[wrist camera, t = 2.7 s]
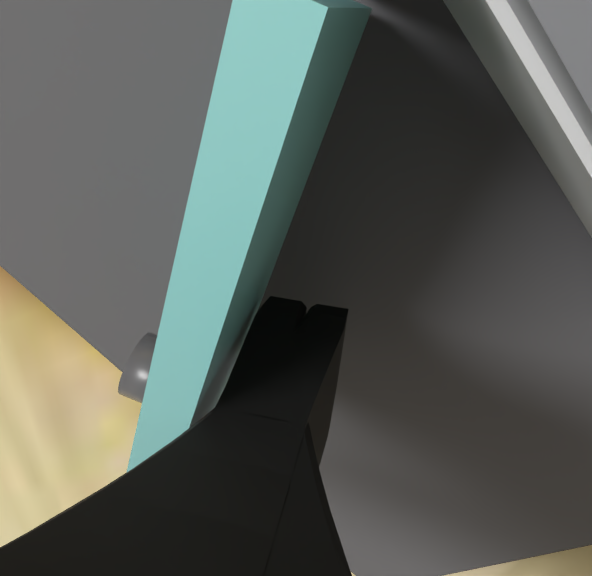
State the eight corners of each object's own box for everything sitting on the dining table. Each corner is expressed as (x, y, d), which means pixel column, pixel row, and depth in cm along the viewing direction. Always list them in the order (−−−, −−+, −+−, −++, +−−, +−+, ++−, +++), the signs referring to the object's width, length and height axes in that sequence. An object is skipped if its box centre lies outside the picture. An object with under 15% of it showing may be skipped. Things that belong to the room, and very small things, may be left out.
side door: (415, -71, 6) (434, -216, 2) (249, 351, 11) (159, 549, 7) (298, -122, 6) (107, -354, 2) (181, 323, 11) (52, 505, 7)
